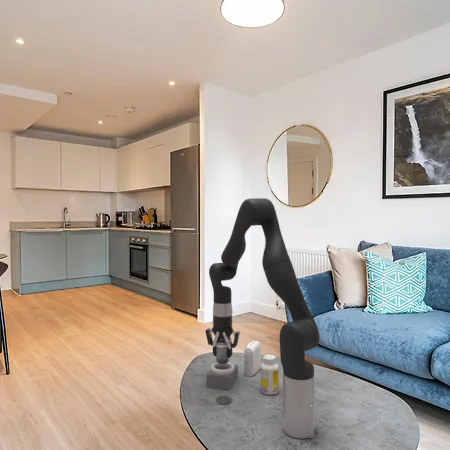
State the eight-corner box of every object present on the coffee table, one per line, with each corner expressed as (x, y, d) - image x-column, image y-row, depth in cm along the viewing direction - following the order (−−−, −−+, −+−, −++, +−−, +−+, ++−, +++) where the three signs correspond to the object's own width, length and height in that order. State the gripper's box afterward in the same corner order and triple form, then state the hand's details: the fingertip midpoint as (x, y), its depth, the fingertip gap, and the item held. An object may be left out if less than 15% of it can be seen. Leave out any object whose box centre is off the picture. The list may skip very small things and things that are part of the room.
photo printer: (252, 377, 147) (252, 347, 147) (242, 375, 149) (242, 345, 149) (262, 368, 156) (262, 339, 156) (252, 366, 158) (252, 338, 158)
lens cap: (233, 399, 130) (233, 397, 130) (229, 407, 125) (229, 404, 125) (218, 397, 132) (218, 395, 132) (213, 404, 127) (213, 402, 127)
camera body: (238, 377, 148) (238, 361, 147) (229, 390, 136) (229, 374, 136) (216, 374, 150) (216, 359, 150) (206, 387, 139) (206, 371, 139)
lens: (230, 359, 145) (230, 338, 145) (226, 364, 140) (226, 343, 140) (218, 358, 146) (218, 337, 146) (214, 362, 141) (214, 341, 141)
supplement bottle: (278, 387, 139) (278, 353, 138) (279, 396, 132) (279, 360, 132) (260, 386, 139) (260, 353, 139) (260, 395, 133) (260, 360, 132)
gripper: (201, 314, 141) (202, 357, 142) (237, 317, 137) (237, 362, 137) (208, 309, 148) (208, 351, 149) (242, 312, 144) (242, 355, 144)
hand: (222, 356), depth 143 cm, fingers closed on lens, 5 cm apart
